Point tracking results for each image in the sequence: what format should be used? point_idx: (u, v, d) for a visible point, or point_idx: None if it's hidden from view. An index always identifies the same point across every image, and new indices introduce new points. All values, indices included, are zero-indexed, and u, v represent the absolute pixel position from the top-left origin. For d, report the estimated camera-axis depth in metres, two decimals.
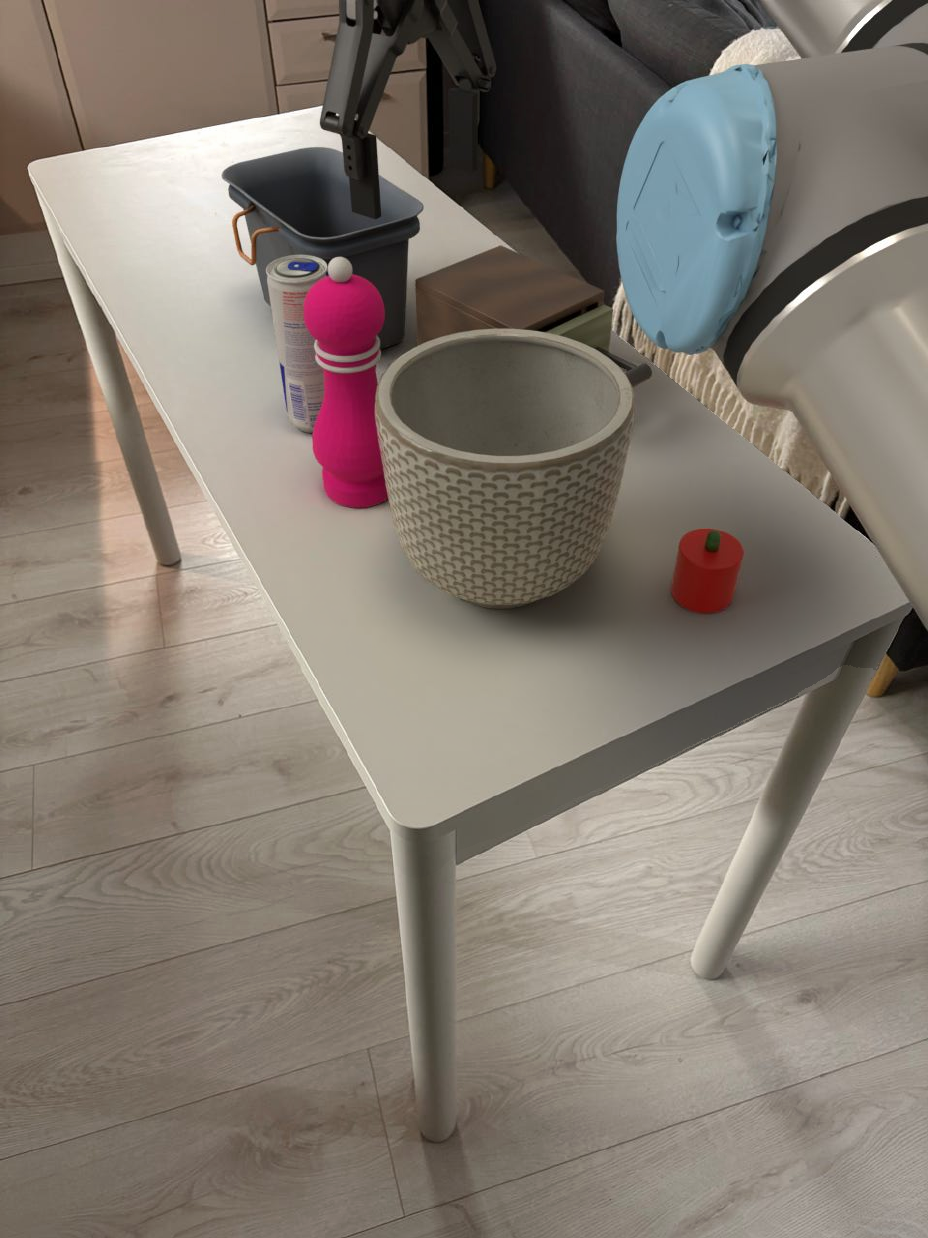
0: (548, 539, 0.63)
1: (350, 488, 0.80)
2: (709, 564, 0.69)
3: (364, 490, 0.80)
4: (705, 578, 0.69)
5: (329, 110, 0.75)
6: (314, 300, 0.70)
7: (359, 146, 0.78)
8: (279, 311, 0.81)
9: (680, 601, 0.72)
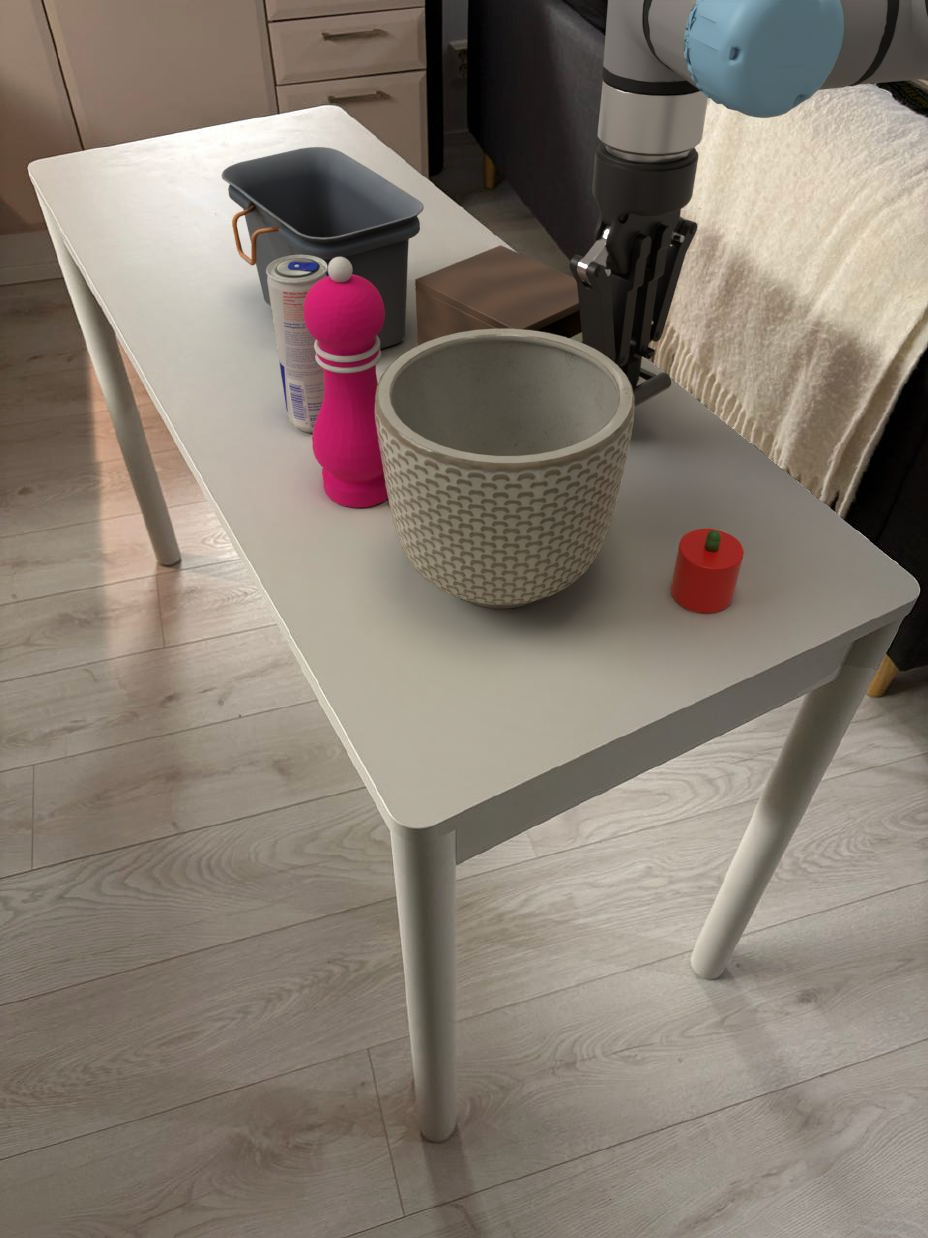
0: (548, 539, 0.63)
1: (350, 488, 0.80)
2: (709, 564, 0.69)
3: (364, 490, 0.80)
4: (705, 578, 0.69)
5: None
6: (314, 300, 0.70)
7: None
8: (279, 311, 0.81)
9: (680, 601, 0.72)
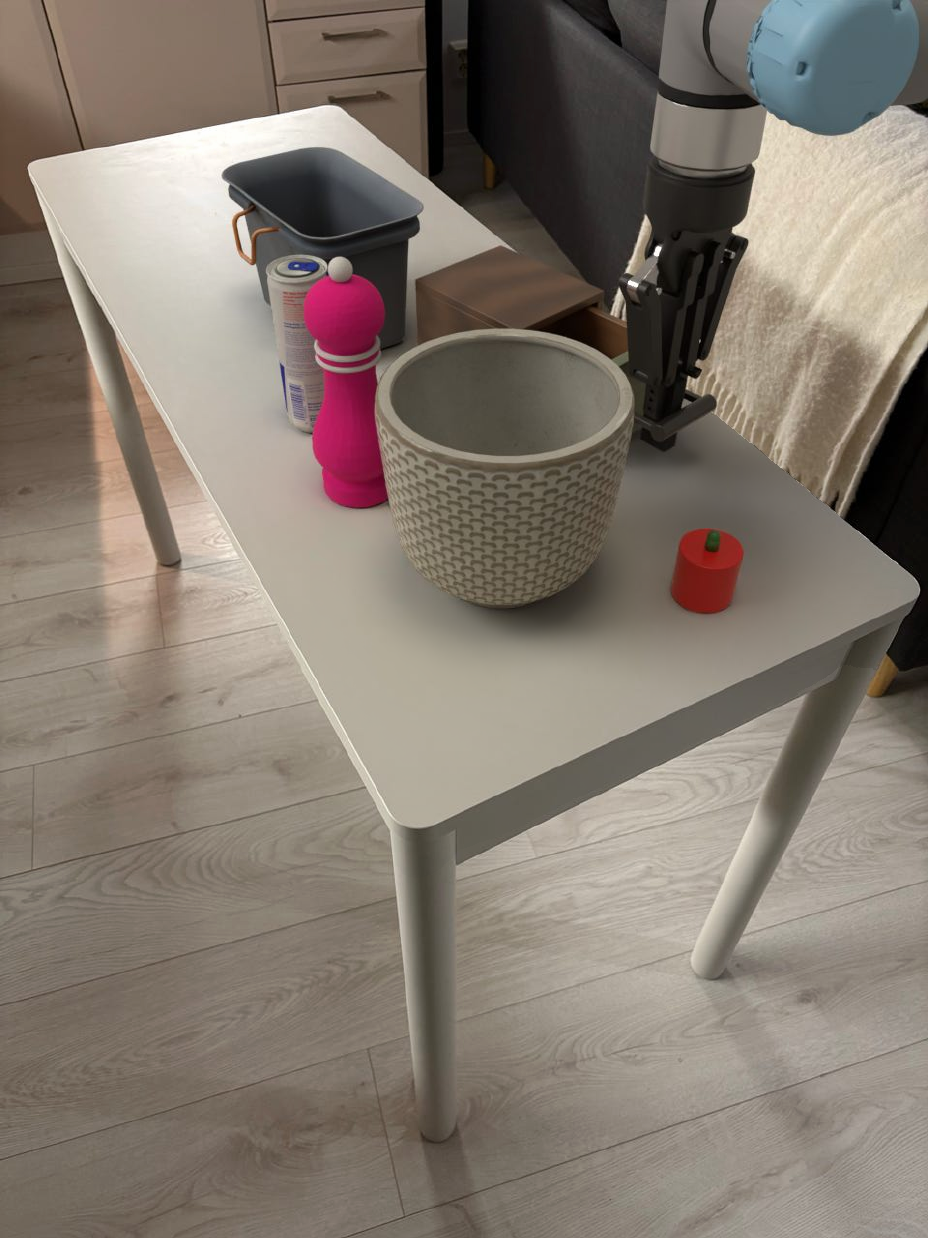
0: (548, 539, 0.63)
1: (350, 488, 0.80)
2: (709, 564, 0.69)
3: (364, 490, 0.80)
4: (705, 578, 0.69)
5: (636, 369, 0.77)
6: (314, 300, 0.70)
7: (663, 391, 0.80)
8: (279, 311, 0.81)
9: (680, 601, 0.72)
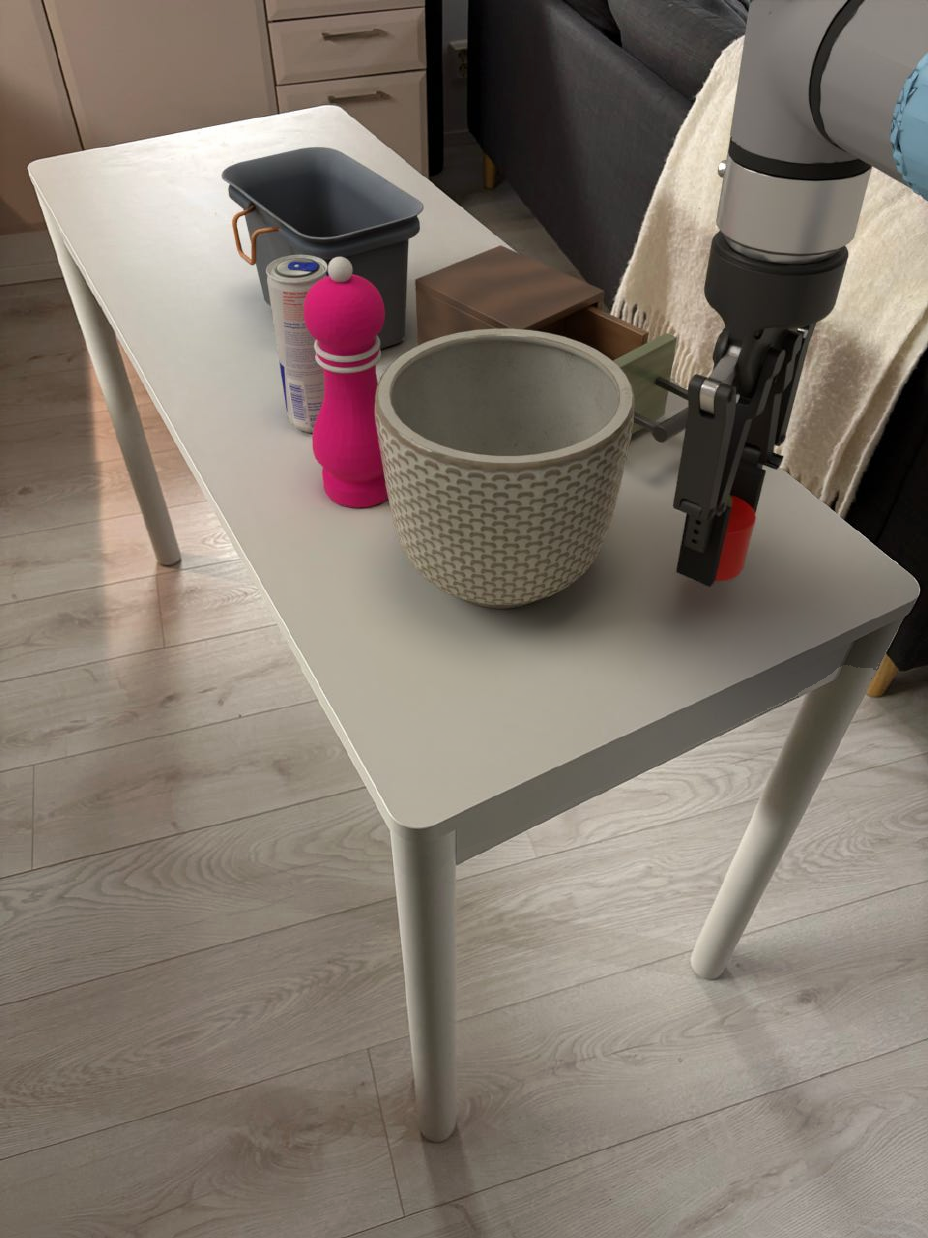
0: (548, 539, 0.63)
1: (350, 488, 0.80)
2: None
3: (364, 490, 0.80)
4: None
5: (685, 498, 0.61)
6: (314, 300, 0.70)
7: (712, 521, 0.64)
8: (279, 311, 0.81)
9: None
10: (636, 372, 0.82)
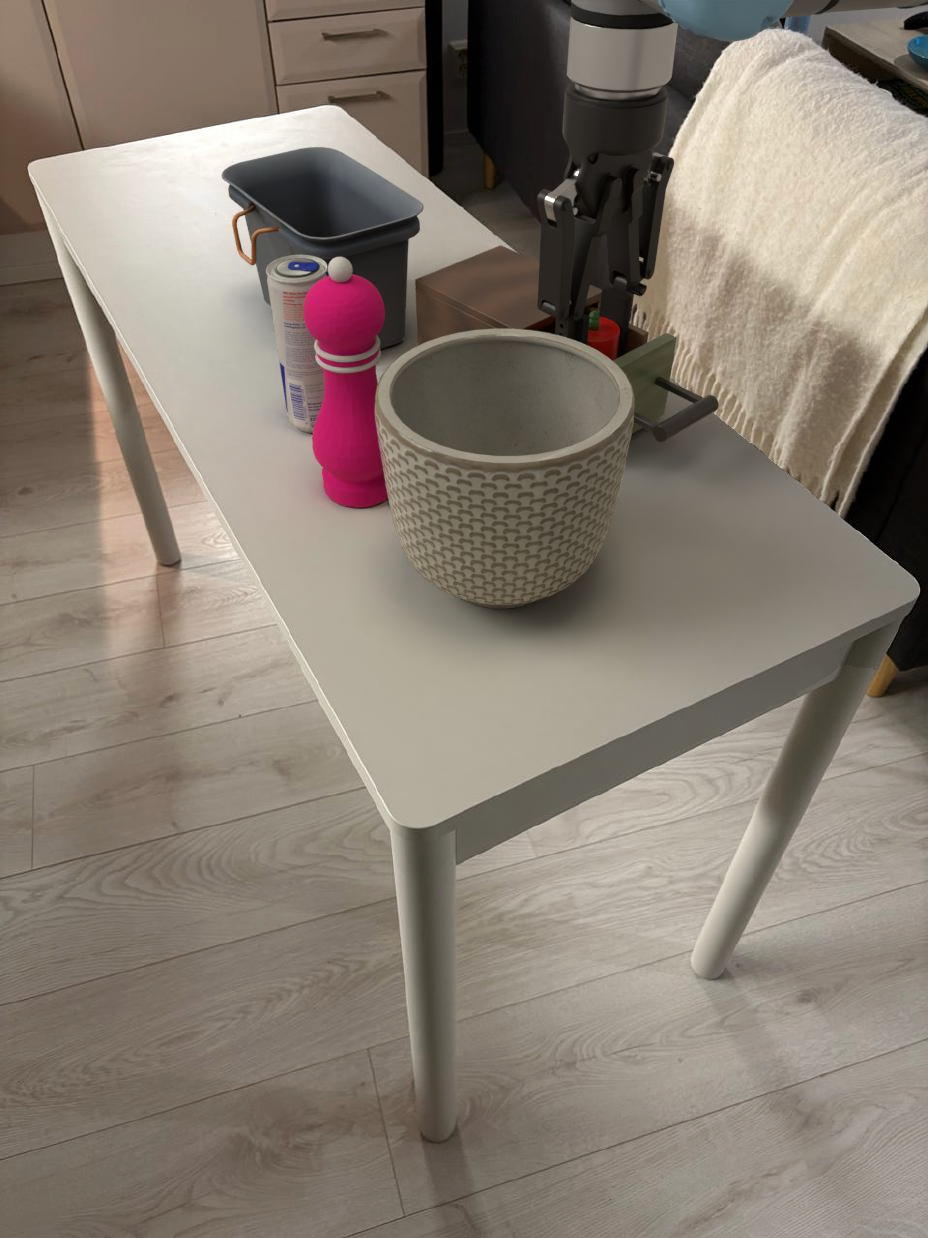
0: (548, 539, 0.63)
1: (350, 488, 0.80)
2: None
3: (364, 490, 0.80)
4: None
5: (544, 299, 0.78)
6: (314, 300, 0.70)
7: (572, 326, 0.81)
8: (279, 311, 0.81)
9: None
10: (636, 372, 0.82)
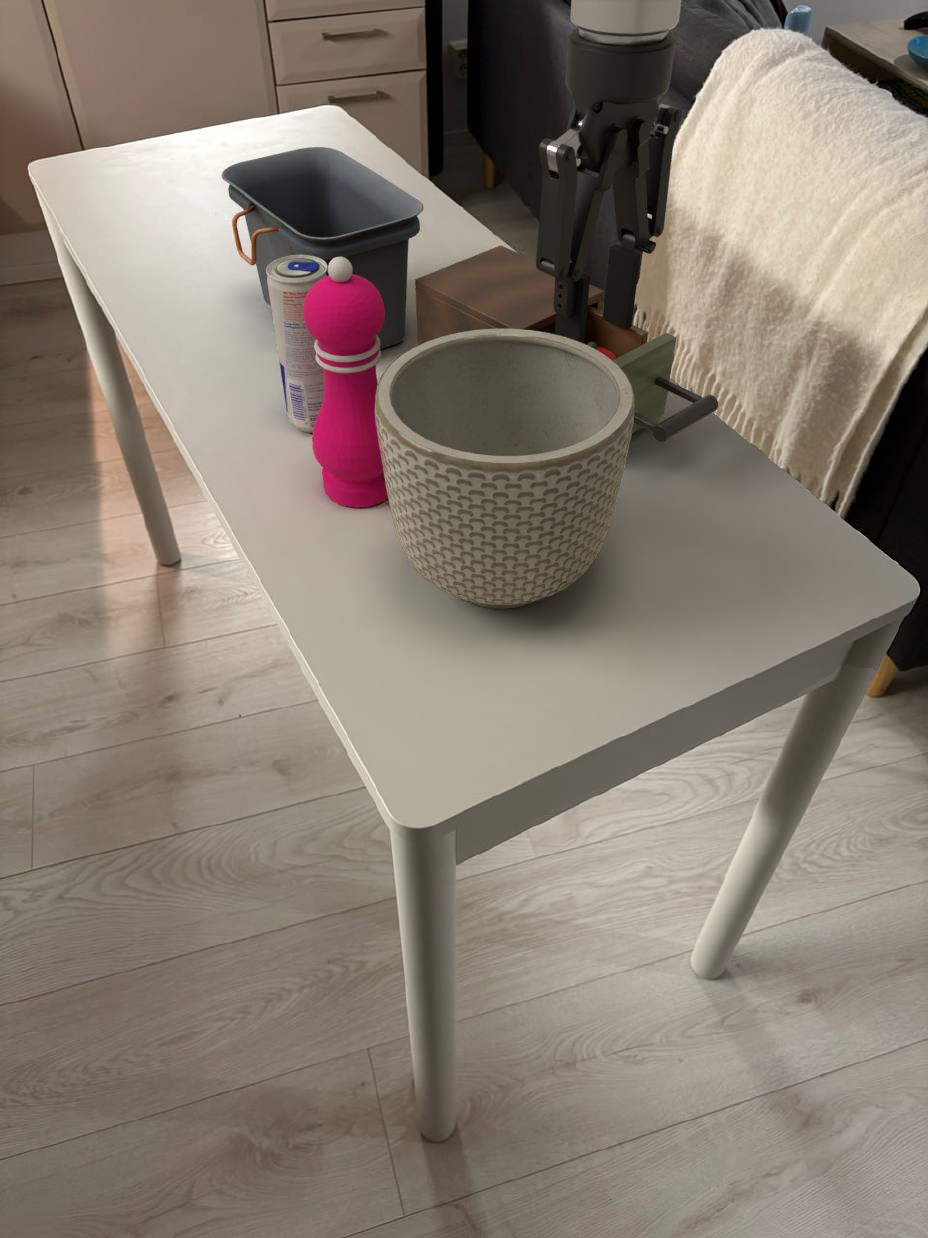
0: (548, 539, 0.63)
1: (350, 488, 0.80)
2: None
3: (364, 490, 0.80)
4: None
5: (543, 257, 0.75)
6: (314, 300, 0.70)
7: (572, 286, 0.78)
8: (279, 311, 0.81)
9: None
10: (635, 372, 0.82)
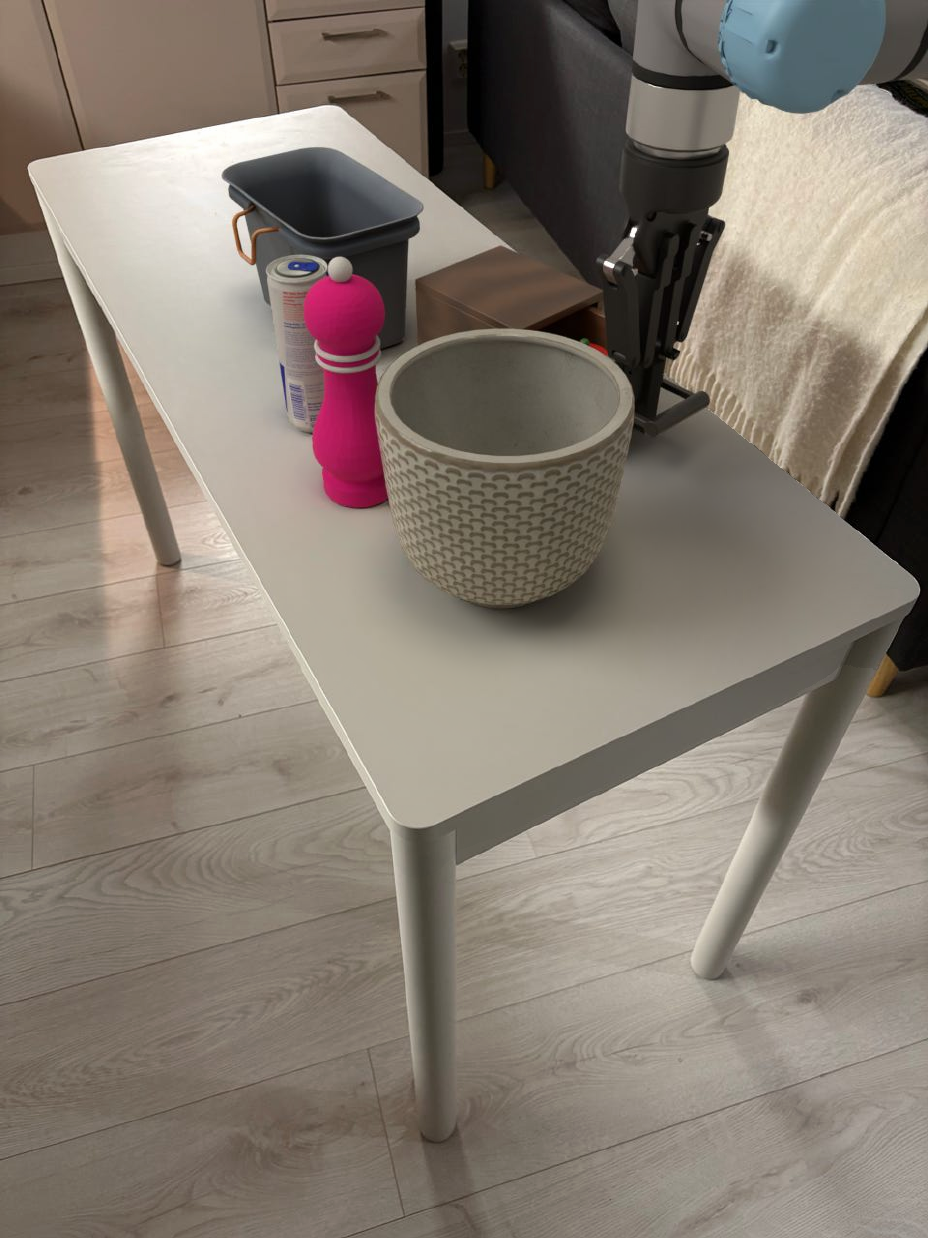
0: (548, 539, 0.63)
1: (350, 488, 0.80)
2: None
3: (364, 490, 0.80)
4: None
5: (614, 350, 0.78)
6: (314, 300, 0.70)
7: (641, 372, 0.80)
8: (279, 311, 0.81)
9: None
10: None
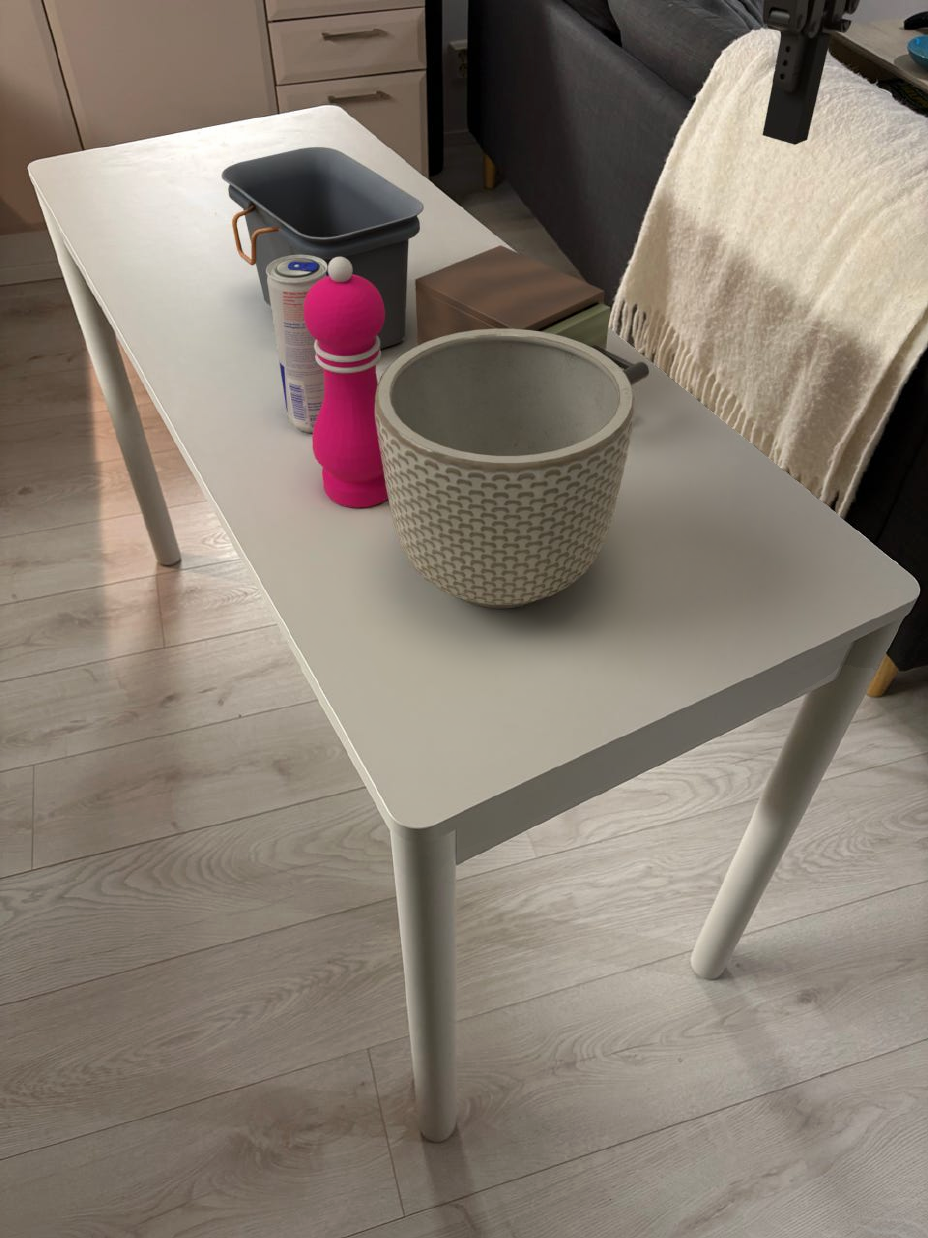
0: (548, 539, 0.63)
1: (350, 488, 0.80)
2: None
3: (364, 490, 0.80)
4: None
5: (774, 6, 0.61)
6: (314, 300, 0.70)
7: (802, 48, 0.63)
8: (279, 311, 0.81)
9: None
10: None
